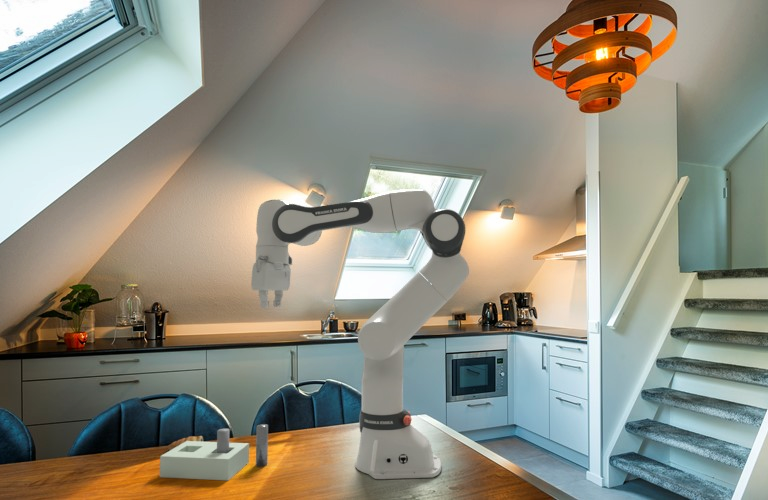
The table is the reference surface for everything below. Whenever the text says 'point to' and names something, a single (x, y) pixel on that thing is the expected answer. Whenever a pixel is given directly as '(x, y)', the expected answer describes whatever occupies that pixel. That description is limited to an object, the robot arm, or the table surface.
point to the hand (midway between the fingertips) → (271, 307)
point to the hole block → (205, 459)
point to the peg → (261, 445)
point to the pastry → (184, 441)
